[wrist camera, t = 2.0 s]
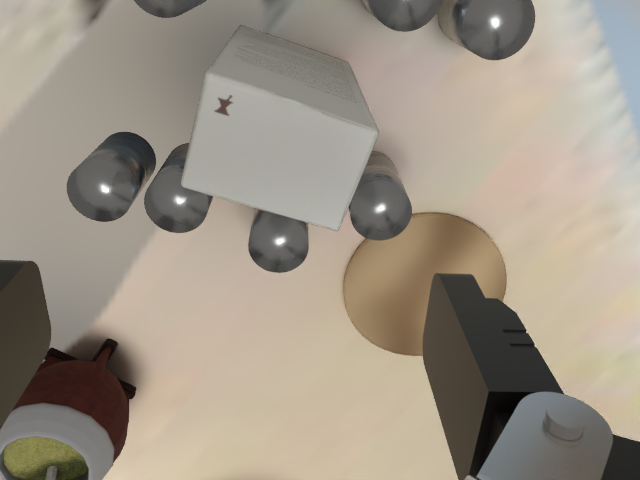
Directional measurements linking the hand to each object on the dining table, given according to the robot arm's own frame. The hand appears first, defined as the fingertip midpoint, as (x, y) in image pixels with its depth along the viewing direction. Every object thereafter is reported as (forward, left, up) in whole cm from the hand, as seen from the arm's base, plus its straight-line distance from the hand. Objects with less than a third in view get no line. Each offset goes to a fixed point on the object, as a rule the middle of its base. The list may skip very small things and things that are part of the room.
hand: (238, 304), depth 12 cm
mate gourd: (+12, +20, -21) cm, 31 cm away
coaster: (-9, +12, -20) cm, 25 cm away
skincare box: (0, 0, -21) cm, 21 cm away
